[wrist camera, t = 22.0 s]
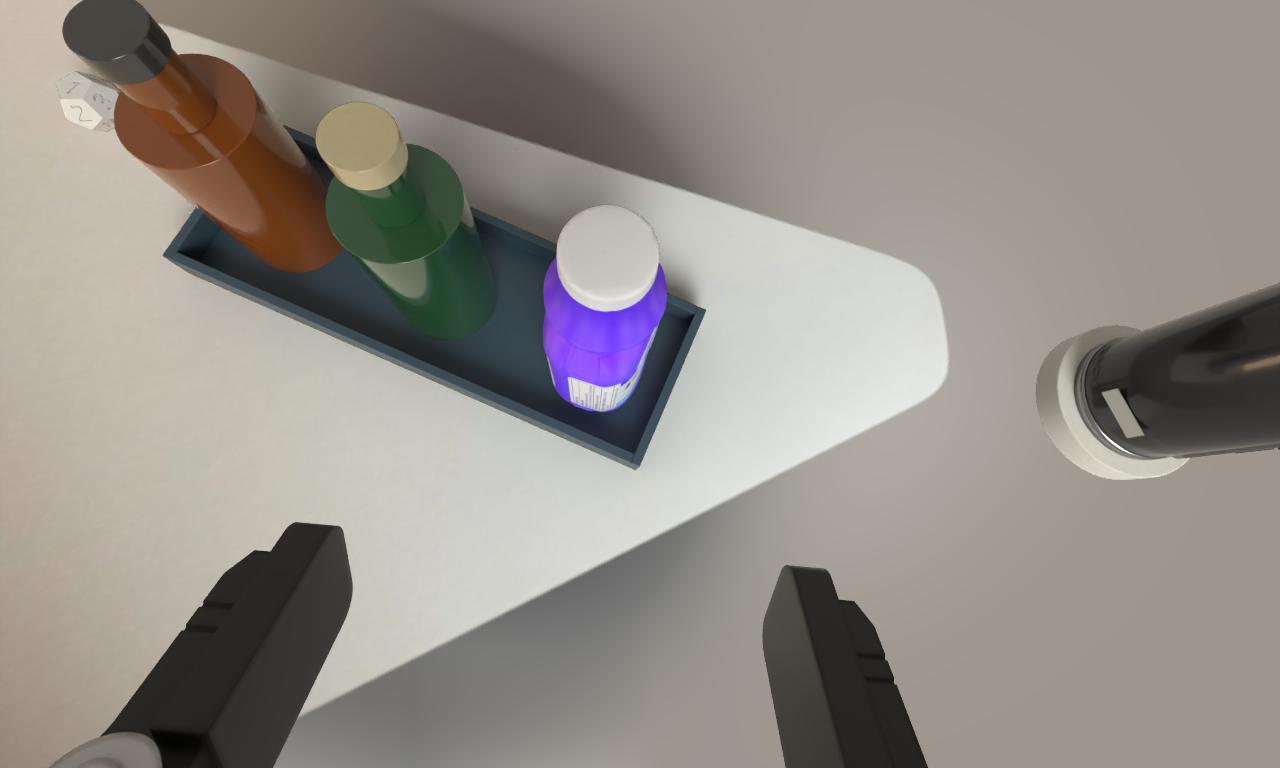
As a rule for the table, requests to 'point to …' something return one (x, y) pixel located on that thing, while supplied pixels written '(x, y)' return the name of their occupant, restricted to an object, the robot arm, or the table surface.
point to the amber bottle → (207, 136)
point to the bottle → (602, 306)
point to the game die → (88, 101)
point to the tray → (475, 365)
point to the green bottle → (406, 222)
